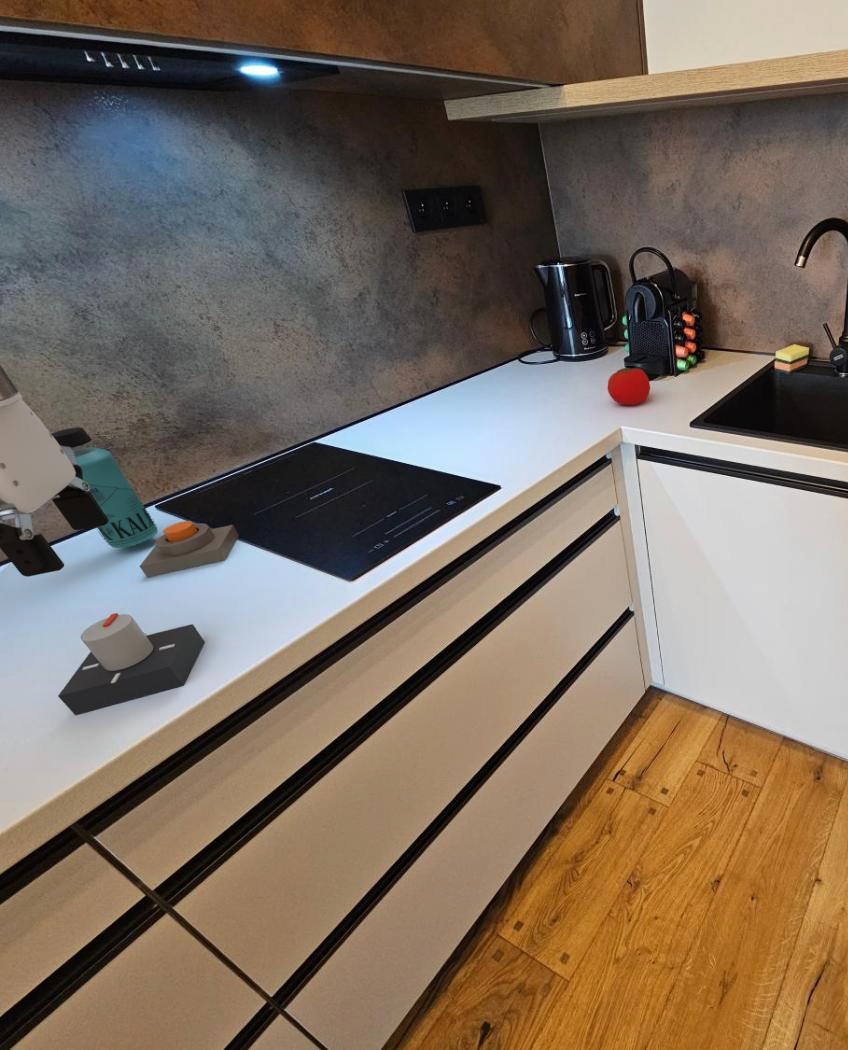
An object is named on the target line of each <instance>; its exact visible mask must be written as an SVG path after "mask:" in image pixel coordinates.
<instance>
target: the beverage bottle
mask: <svg viewBox="0 0 848 1050" xmlns="http://www.w3.org/2000/svg"><path fill="white" fill-rule="evenodd" d="M51 434H52V436H53V437H54V438H55V440H56V441H57V442H58V444H59V445H61V446H68V447H71V448H72V449H73V451H74V454H75V457H76V460H77V463H78V464H76V465H79V466H80V467H81V469H82V470H83V471H82V473H83V480H84V481H86V482H87V483H88V484H89V487H90V490H89V491H87V492H90V493H91V494H92V496H93V497H94V499H95V500H96V502H97V503H98V505H99V506H100V508H101V509H102V511H103V512H104V514H105V515H106V516H107V518H108V519H109V522H108V523H107V524H106V525H103V526H98V527H94V528H95V529H96V530H97V531H98V534H99V535H100V536H101V538H102V539H103V540H104V542H105V543H106V544H107V545H108V546H110V547H111V548H114V549H124V548H129V547H133V546H136V545H139V544H141V543H145V542H146V541H149V540H150V539H152V538H154V537H155V536H156V535H157V534H158V526H157V524H156V523H155V521H154V518H152V516H151V514H150V512H149V511H148V510H147V508H146V507H147V506H145V504H144V503H143V502H142V501H141V498H140V496H138V494H137V492H136V490H135V489H133V487H132V486H131V484H130V483H129V481H128V480H127V478H126V476H125V475H124V473H123V471H122V470H121V467H119V465H118V463H117V462H116V460H115V459H114V457H113V455H112V453H111V452H110V451H109V450H106V449H103V448H99V447H95V446H89V447H82V448H77V447H80V446H83V445H86V444H88V443H90V442H91V441H92V438H91V436H90V435H89V434H88V433H87V431H86V430H85V429H84V428H83V427H80V426H77V427H76V426H75V427H70V428H69V427H68V428H64V429H60V430H57V431H54V432H52V433H51ZM74 448H77V449H74ZM87 492H85V493H87Z"/></svg>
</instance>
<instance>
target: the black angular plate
mask: <svg viewBox="0 0 848 1050" xmlns="http://www.w3.org/2000/svg"><path fill="white" fill-rule="evenodd" d="M143 633H144V632H143ZM144 634H145V635H146V637H147V638H148V639H149V641H150V642H151V644H152V645H153V651H152V652H151V654H150V655H149V656H147V657H146V658H145V659H143V660H142V661H140V662H139V663H137V664H135V665H133V666H130V667H128V668H125V669H121V670H116V671H109V670H106V669H105V668H104V667H103V666H102V664H101V663H100V662H99V661H98V660H97V658H96V657H95V656H94V655H93V653H92V652H91V651H90V652H89V653H88V654H87V656H86V657H85V658H84V660H83V661H82V662H81V664H80V665H79V666H78V668H77V669H76V670H75V672H74V674H73V675H71V678H70V679H69V680H68V682H67V683H66V684H65V686H64V687H63V689H62V690H61V691H60V692H59V694H58V696H57V697H58V698H59V699H60V700H61V702H63V703H64V705H65V706H66V707H67V708H68V709H69V710H70V711H71V712H72V714H73V715H74V716H78V715H81V714H86V713H88V712H92V711H96V710H100V709H104V708H106V707H111V706H114V705H117V704H118V705H119V704H122V703H126V702H128V701H132V700H137V699H140V698H142V697H147V696H150V695H154V694H158V693H162V692H165V691H169V690H172V689H176V688H180V687H184V685H185V683H186V681H187V679H188V677H189V675H190V673H191V671H192V669H193V667H194V665H195V663H196V661H197V659H198V657H199V655H200V653H201V651H202V649H203V647H204V645H205V642H206V641H205V640H204V638H203V637H202V636H201V634H200V632H199V631H198V629H197V628H196V627H195V625H194V624H193V623H190V624H187V625H182V626H178V627H175V628H171V629H167V630H162V631H159V632H155V633H151V634H147V633H146V632H145V633H144Z"/></svg>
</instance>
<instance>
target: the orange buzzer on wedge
mask: <svg viewBox="0 0 848 1050" xmlns="http://www.w3.org/2000/svg"><path fill="white" fill-rule="evenodd" d="M193 524H194V526H195V528H196V529H197V531H198V533H196V534H195V535H193V536H192V537H189V538H187V539H184V540H181V541H176V542H169V540H168V539H167V537H166V536H165V534H164V533H163V534H162V535H161V536H158V538H157V539H156V540H155V542H154V543H155V546H154V547H153V548H152V549H151V551H150V552H149V553H148V555H147V556H146V557H145V558H144V560H143V561H142V562H141V564H140V565H139V568H140V569H141V570H142V572H143V574H144V575H145V577H146V578H147V579H150V578H155V577H158V576H163V575H168V574H173V573H177V572H180V571H186V570H189V569H194V568H198V567H204V566H208V565H211V564H217V563H222V562H226V560H227V559H228V557H229V555H230V553H231V551H232V550H233V548H234V546H235V545H236V543H237V541H238V539H239V537H240V535H239V533H238V531H237V529H236V527H235V526H234V524H230V525H224V526H220V527H214V528H210V526H209V525H208V524H207V523H193Z"/></svg>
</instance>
